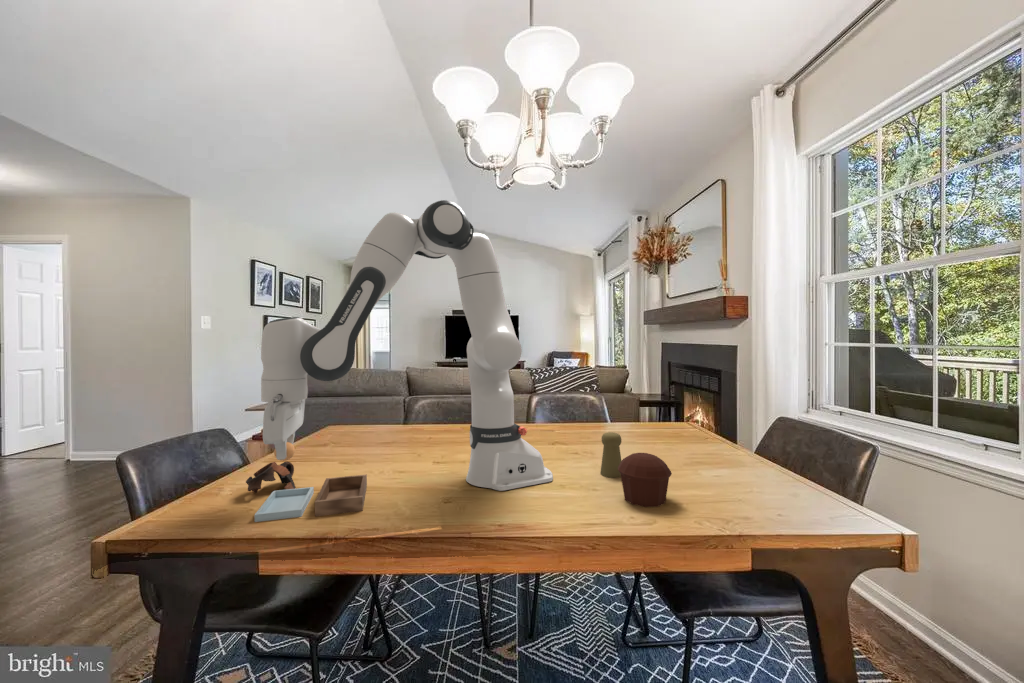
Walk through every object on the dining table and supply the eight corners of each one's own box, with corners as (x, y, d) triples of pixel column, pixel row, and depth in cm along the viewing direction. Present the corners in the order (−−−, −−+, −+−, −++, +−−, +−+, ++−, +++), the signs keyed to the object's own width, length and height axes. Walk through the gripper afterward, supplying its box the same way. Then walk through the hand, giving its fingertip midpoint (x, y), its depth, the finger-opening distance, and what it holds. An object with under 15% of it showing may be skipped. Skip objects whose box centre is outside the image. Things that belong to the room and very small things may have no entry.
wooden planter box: (366, 488, 103) (366, 474, 103) (362, 513, 88) (362, 496, 88) (326, 492, 101) (326, 478, 101) (315, 519, 86) (314, 502, 86)
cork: (626, 477, 109) (625, 435, 109) (602, 478, 109) (602, 435, 109) (620, 470, 115) (619, 430, 115) (598, 470, 115) (597, 430, 115)
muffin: (682, 501, 93) (682, 456, 93) (652, 514, 86) (652, 465, 86) (637, 486, 102) (636, 445, 102) (607, 497, 96) (606, 453, 96)
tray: (313, 495, 99) (313, 486, 99) (301, 519, 86) (301, 509, 86) (273, 499, 97) (273, 490, 97) (254, 524, 84) (254, 514, 84)
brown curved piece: (286, 501, 97) (264, 473, 95) (254, 517, 99) (232, 490, 97) (311, 472, 109) (293, 447, 107) (282, 487, 110) (263, 462, 108)
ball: (296, 457, 94) (296, 439, 94) (292, 462, 90) (292, 443, 90) (276, 458, 93) (276, 440, 93) (271, 463, 89) (271, 444, 89)
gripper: (289, 397, 82) (290, 467, 82) (309, 386, 102) (309, 443, 102) (253, 398, 81) (253, 470, 81) (280, 387, 100) (280, 445, 100)
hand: (285, 455), depth 91 cm, fingers closed on ball, 4 cm apart
